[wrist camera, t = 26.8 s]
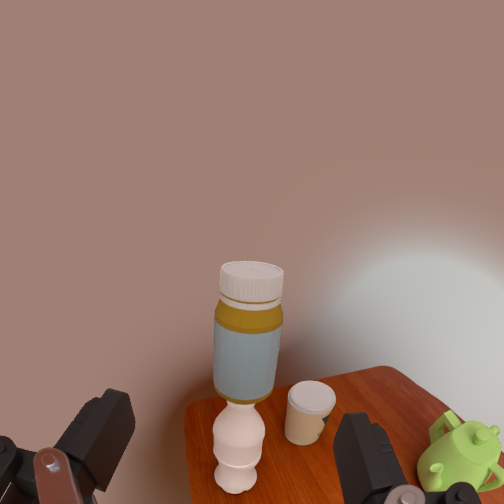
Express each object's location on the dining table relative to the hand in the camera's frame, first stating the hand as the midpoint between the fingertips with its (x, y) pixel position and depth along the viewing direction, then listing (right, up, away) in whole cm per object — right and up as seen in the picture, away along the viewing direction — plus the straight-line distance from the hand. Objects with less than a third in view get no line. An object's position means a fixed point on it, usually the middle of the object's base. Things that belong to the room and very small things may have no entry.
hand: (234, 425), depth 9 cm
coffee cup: (+11, -32, +41) cm, 54 cm away
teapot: (+38, -39, +21) cm, 58 cm away
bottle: (0, -10, +22) cm, 24 cm away
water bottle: (-2, -34, +28) cm, 44 cm away
